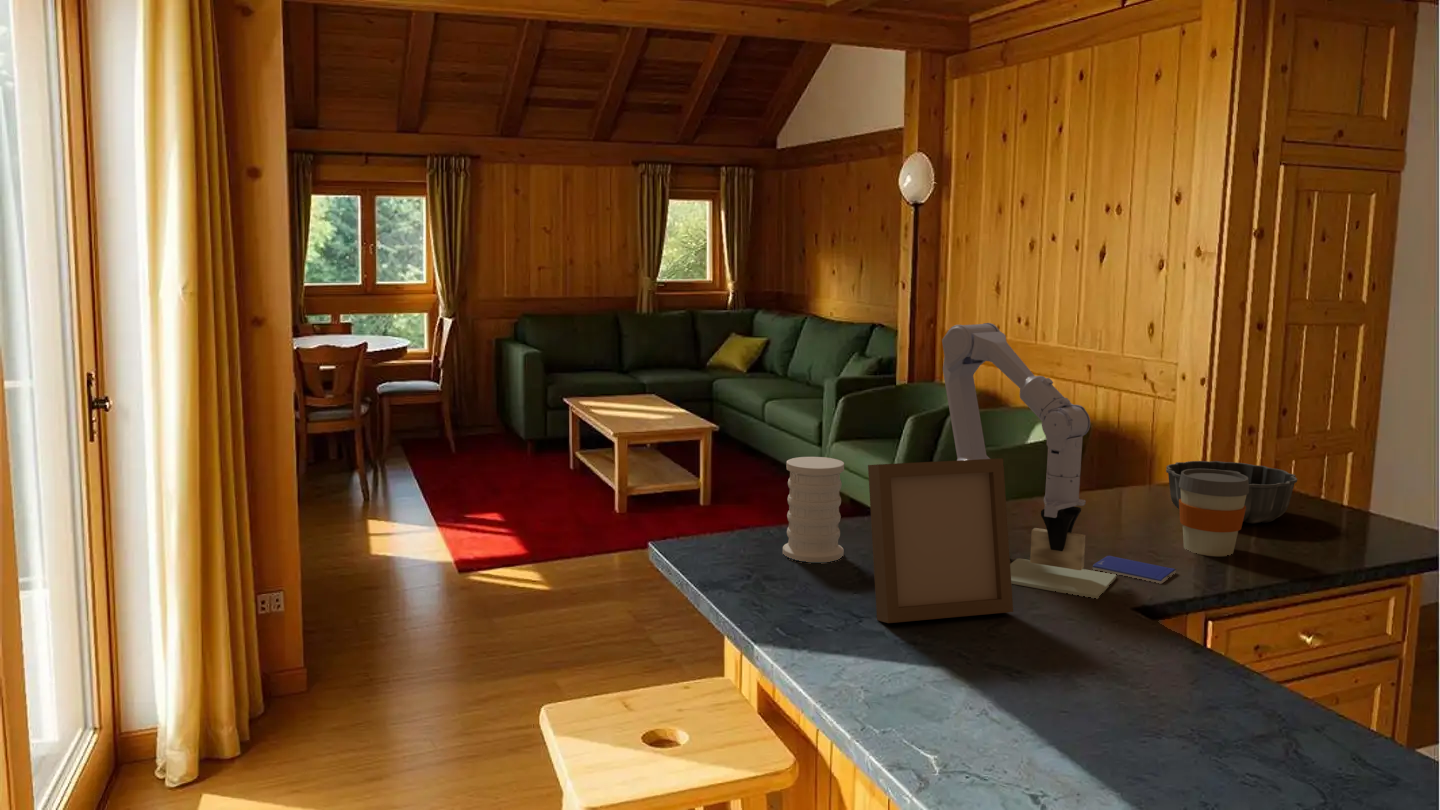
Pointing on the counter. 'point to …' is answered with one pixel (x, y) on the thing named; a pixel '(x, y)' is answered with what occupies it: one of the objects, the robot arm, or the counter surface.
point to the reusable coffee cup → (1212, 510)
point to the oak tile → (1066, 559)
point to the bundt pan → (1265, 487)
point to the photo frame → (940, 539)
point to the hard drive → (1134, 569)
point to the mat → (1060, 578)
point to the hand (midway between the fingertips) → (1058, 548)
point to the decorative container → (814, 509)
